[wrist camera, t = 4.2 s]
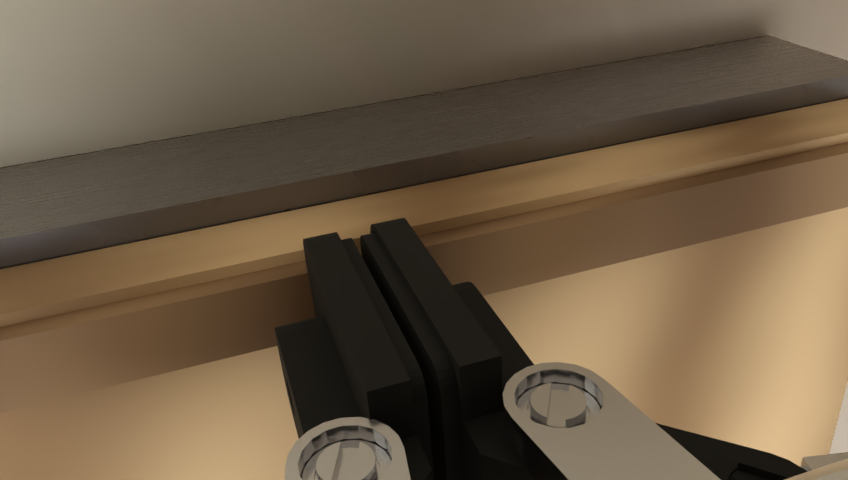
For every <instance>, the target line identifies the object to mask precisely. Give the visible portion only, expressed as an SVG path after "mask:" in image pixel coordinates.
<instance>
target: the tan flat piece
mask: <svg viewBox="0 0 848 480" xmlns="http://www.w3.org/2000/svg"><path fill="white" fill-rule="evenodd" d="M400 218H405V219H406V220H407V221H408V223H409V224H410V226H411V227H412V228H413V230H414V231H415V233H416V234H417V236H418V237H419V239H420V240H421V241H422V243H423V244H424V246H425V247H426V249H427V250H428V251H429V253H430V254H431V256H432V257H433V259H434V260H435V261H436V263H437V264H438V266H439V267H440V269H441V270H442V271H443V273H444V274H445V276H446V277H447V279H448V280H449V281H450V283H451V284H452V285H455V284H459V283H463V282H472V283H473V284H474V285H475V286H476V288H477V289H478V290H479V292H480V293H481V294H482V296H483V297H484V298H485V300H486V301H487V302H488V304H489V305H490V306H491V308H492V309H493V310H494V312H495V313H496V314H497V316H498V317H499V318H500V320H501V321H502V322H503V324H504V325H505V326H506V328H507V329H508V330H509V332H510V333H511V334H512V336H513V337H514V338H515V340H516V341H517V342H518V344H519V345H520V346H521V348H522V349H523V350H524V352H525V353H526V354H527V356H528V357H529V358H530V360H531V361H532V362H533V364H534V365H536V364H540V363H549V362H562V363H569V364H576V365H578V366H581V367H584V368H587V369H589V370H591V371H593V372H595V373H596V374H598V375H599V376H601V377H602V378H604V379H605V380H606V381H607V382H608V383H609V384H611V385H612V386H613V387H614V388H615V389H616V390H618V391H619V392H620V393H621V394H622V395H623V396H624V397H626V398H627V399H628V400H629V401H630V402H631V403H633V404H634V405H635V406H636V407H637V408H638V409H640V410H641V411H642V412H643V413H644V414H645V415H646V416H648V417H649V418H650V419H651V420H652V421H653V422H655V423H658V424H662V425H665V426H669V427H673V428H677V429H681V430H684V431H688V432H692V433H696V434H700V435H703V436H707V437H711V438H715V439H719V440H722V441H726V442H730V443H734V444H738V445H741V446H745V447H749V448H753V449H757V450H761V451H764V452H768V453H771V454H774V455H777V456H779V457H782V458H785V459H788V460H790V461H791V462H793V463H795V464H796V465H798V466H801V462H802V458H803V457H808V456H817V455H826V454H829V452H830V448H831V444H832V440H833V436H834V433H835V429H836V425H837V421H838V417H839V413H840V409H841V405H842V401H843V397H844V393H845V389H846V385H847V381H848V98H847V99H842V100H837V101H832V102H827V103H822V104H817V105H812V106H807V107H802V108H797V109H793V110H788V111H783V112H778V113H773V114H768V115H763V116H758V117H753V118H748V119H743V120H738V121H733V122H728V123H723V124H718V125H713V126H708V127H703V128H698V129H693V130H688V131H683V132H679V133H674V134H669V135H664V136H659V137H654V138H649V139H644V140H639V141H634V142H629V143H624V144H619V145H614V146H609V147H604V148H599V149H594V150H589V151H584V152H579V153H574V154H569V155H565V156H560V157H555V158H550V159H545V160H540V161H535V162H530V163H525V164H520V165H515V166H510V167H505V168H500V169H495V170H490V171H485V172H480V173H475V174H470V175H465V176H460V177H455V178H451V179H446V180H441V181H436V182H431V183H426V184H421V185H416V186H411V187H406V188H401V189H396V190H391V191H386V192H381V193H376V194H371V195H366V196H361V197H356V198H351V199H346V200H341V201H337V202H332V203H327V204H322V205H317V206H312V207H307V208H302V209H297V210H292V211H287V212H282V213H277V214H272V215H267V216H262V217H257V218H252V219H247V220H242V221H237V222H232V223H227V224H223V225H218V226H213V227H208V228H203V229H198V230H193V231H188V232H183V233H178V234H173V235H168V236H163V237H158V238H153V239H148V240H143V241H138V242H133V243H128V244H123V245H118V246H113V247H109V248H104V249H99V250H94V251H89V252H84V253H79V254H74V255H69V256H64V257H59V258H54V259H49V260H44V261H39V262H34V263H29V264H24V265H19V266H14V267H9V268H4V269H0V480H285V466H286V461H287V455H288V453H289V452H290V450H291V449H292V447H293V445H294V444H295V442H296V441H297V440H298V439H299V438H298V434H297V431H296V427H295V423H294V419H293V415H292V411H291V407H290V402H289V398H288V394H287V389H286V385H285V380H284V376H283V371H282V366H281V361H280V356H279V351H278V346H277V341H276V336H275V329H274V327H279V326H283V325H287V324H291V323H295V322H300V321H304V320H308V319H312V318H316V317H315V311H314V305H313V299H312V293H311V287H310V281H309V275H308V271H307V266H306V260H305V254H304V247H303V239H305V238H310V237H315V236H319V235H324V234H329V233H333V232H337V233H338V234H339V236H340V238H341V240H343V239H347V238H352V239H353V241H354V243H355V245H356V246H357V248H358V250H359V252H360V254H361V246H360V236H361V235H366V234H370V227H371V224H376V223H381V222H385V221H390V220H395V219H400ZM361 256H362V254H361Z"/></svg>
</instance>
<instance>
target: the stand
mask: <svg viewBox="0 0 848 480" xmlns="http://www.w3.org/2000/svg"><path fill="white" fill-rule="evenodd" d="M847 98H848V61H847V60H843V59H840V58H837V57H834V56H831V55H828V54H825V53H822V52H818V51H815V50H812V49H809V48H806V47H803V46H800V45H796V44H793V43H790V42H787V41H784V40H781V39H778V38H775V37H771V36H764V37H758V38H752V39H746V40H741V41H735V42H729V43H723V44H717V45H712V46H706V47H700V48H694V49H689V50H683V51H677V52H671V53H665V54H660V55H654V56H648V57H642V58H636V59H631V60H625V61H619V62H613V63H607V64H602V65H596V66H590V67H584V68H578V69H573V70H567V71H561V72H555V73H549V74H544V75H538V76H532V77H526V78H521V79H515V80H509V81H503V82H497V83H492V84H486V85H480V86H474V87H468V88H463V89H457V90H451V91H445V92H439V93H434V94H428V95H422V96H416V97H410V98H405V99H399V100H393V101H387V102H381V103H376V104H370V105H364V106H358V107H352V108H347V109H341V110H335V111H329V112H324V113H318V114H312V115H306V116H300V117H295V118H289V119H283V120H277V121H271V122H266V123H260V124H254V125H248V126H242V127H237V128H231V129H225V130H219V131H213V132H208V133H202V134H196V135H190V136H184V137H179V138H173V139H167V140H161V141H156V142H150V143H144V144H138V145H132V146H127V147H121V148H115V149H109V150H103V151H98V152H92V153H86V154H80V155H74V156H69V157H63V158H57V159H51V160H45V161H40V162H34V163H28V164H22V165H16V166H11V167H5V168H0V269H4V268H9V267H14V266H19V265H24V264H29V263H34V262H39V261H44V260H49V259H54V258H59V257H64V256H69V255H74V254H79V253H84V252H89V251H94V250H99V249H104V248H109V247H113V246H118V245H123V244H128V243H133V242H138V241H143V240H148V239H153V238H158V237H163V236H168V235H173V234H178V233H183V232H188V231H193V230H198V229H203V228H208V227H213V226H218V225H223V224H227V223H232V222H237V221H242V220H247V219H252V218H257V217H262V216H267V215H272V214H277V213H282V212H287V211H292V210H297V209H302V208H307V207H312V206H317V205H322V204H327V203H332V202H337V201H341V200H346V199H351V198H356V197H361V196H366V195H371V194H376V193H381V192H386V191H391V190H396V189H401V188H406V187H411V186H416V185H421V184H426V183H431V182H436V181H441V180H446V179H451V178H455V177H460V176H465V175H470V174H475V173H480V172H485V171H490V170H495V169H500V168H505V167H510V166H515V165H520V164H525V163H530V162H535V161H540V160H545V159H550V158H555V157H560V156H565V155H569V154H574V153H579V152H584V151H589V150H594V149H599V148H604V147H609V146H614V145H619V144H624V143H629V142H634V141H639V140H644V139H649V138H654V137H659V136H664V135H669V134H674V133H679V132H683V131H688V130H693V129H698V128H703V127H708V126H713V125H718V124H723V123H728V122H733V121H738V120H743V119H748V118H753V117H758V116H763V115H768V114H773V113H778V112H783V111H788V110H793V109H797V108H802V107H807V106H812V105H817V104H822V103H827V102H832V101H837V100H842V99H847Z"/></svg>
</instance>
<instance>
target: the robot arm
mask: <svg viewBox="0 0 848 480" xmlns="http://www.w3.org/2000/svg"><path fill="white" fill-rule="evenodd" d="M360 246H361V254H362V256H361V254H360V252H359V250H358V248H357V246H356V245H355V243H354V241H353V239H352V238H347V239H343V240H341V238H340V236H339V234H338V233H337V232H333V233H329V234H324V235H319V236H315V237H310V238H305V239H303V247H304V254H305V260H306V266H307V271H308V275H309V281H310V287H311V293H312V299H313V305H314V311H315V317H316V318H312V319H308V320H304V321H300V322H295V323H291V324H287V325H283V326H279V327H274V329H275V336H276V341H277V346H278V351H279V356H280V361H281V366H282V371H283V376H284V380H285V385H286V389H287V394H288V398H289V402H290V407H291V411H292V415H293V419H294V423H295V427H296V431H297V434H298V438H299V439H298V440H297V441H296V442H295V444H294V445H293V447H292V449H291V450H290V452H289V453H288V455H287V461H286V466H285V480H848V452H845V453H836V454H826V455H817V456H808V457H803V458H802V462H801V466H798V465H796V464H795V463H793V462H791V461H790V460H788V459H785V458H782V457H779V456H777V455H774V454H771V453H768V452H764V451H761V450H757V449H753V448H749V447H745V446H741V445H738V444H734V443H730V442H726V441H722V440H719V439H715V438H711V437H707V436H703V435H700V434H696V433H692V432H688V431H684V430H681V429H677V428H673V427H669V426H665V425H662V424H658V423H655V422H653V421H652V420H651V419H650V418H649V417H648V416H646V415H645V414H644V413H643V412H642V411H641V410H640V409H638V408H637V407H636V406H635V405H634V404H633V403H631V402H630V401H629V400H628V399H627V398H626V397H624V396H623V395H622V394H621V393H620V392H619V391H618V390H616V389H615V388H614V387H613V386H612V385H611V384H609V383H608V382H607V381H606V380H605V379H604V378H602V377H601V376H599V375H598V374H596V373H595V372H593V371H591V370H589V369H587V368H584V367H581V366H578V365H576V364H569V363H562V362H549V363H540V364H536V365H534V364H533V362H532V361H531V360H530V358H529V357H528V356H527V354H526V353H525V352H524V350H523V349H522V348H521V346H520V345H519V344H518V342H517V341H516V340H515V338H514V337H513V336H512V334H511V333H510V332H509V330H508V329H507V328H506V326H505V325H504V324H503V322H502V321H501V320H500V318H499V317H498V316H497V314H496V313H495V312H494V310H493V309H492V308H491V306H490V305H489V304H488V302H487V301H486V300H485V298H484V297H483V296H482V294H481V293H480V292H479V290H478V289H477V288H476V286H475V285H474V284H473V283H472V282H463V283H459V284H455V285H452V284H451V283H450V281H449V280H448V279H447V277H446V276H445V274H444V273H443V271H442V270H441V269H440V267H439V266H438V264H437V263H436V261H435V260H434V259H433V257H432V256H431V254H430V253H429V251H428V250H427V249H426V247H425V246H424V244H423V243H422V241H421V240H420V239H419V237H418V236H417V234H416V233H415V231H414V230H413V228H412V227H411V226H410V224H409V223H408V221H407V220H406V219H405V218H400V219H395V220H390V221H385V222H381V223H376V224H371V227H370V234H366V235H361V236H360Z"/></svg>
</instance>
